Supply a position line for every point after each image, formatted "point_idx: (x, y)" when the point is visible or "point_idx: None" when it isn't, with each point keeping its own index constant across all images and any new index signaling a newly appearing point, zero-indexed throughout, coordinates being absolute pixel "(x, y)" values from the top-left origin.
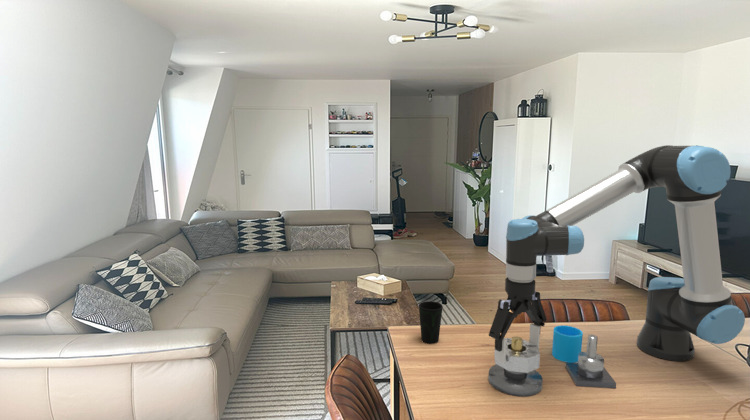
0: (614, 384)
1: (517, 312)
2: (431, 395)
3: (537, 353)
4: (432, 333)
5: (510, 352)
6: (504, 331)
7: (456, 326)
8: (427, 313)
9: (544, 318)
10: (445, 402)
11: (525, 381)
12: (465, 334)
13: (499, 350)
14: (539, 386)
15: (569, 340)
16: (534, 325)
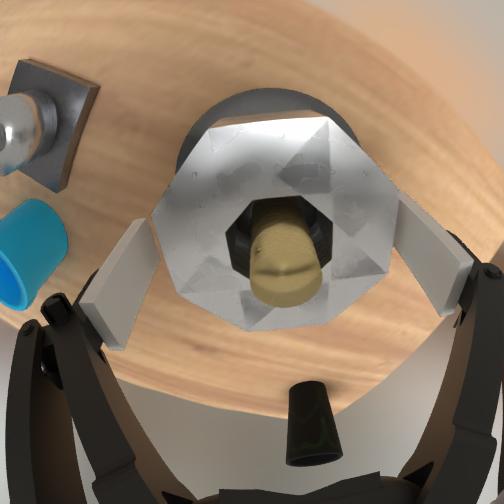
0: (23, 60)
1: (461, 486)
2: (479, 235)
3: (222, 136)
4: (320, 401)
5: (359, 220)
6: (501, 305)
7: (216, 403)
8: (338, 445)
9: (27, 338)
10: (482, 201)
11: None
12: (219, 385)
13: (450, 233)
14: (243, 92)
15: (8, 242)
16: (107, 328)
